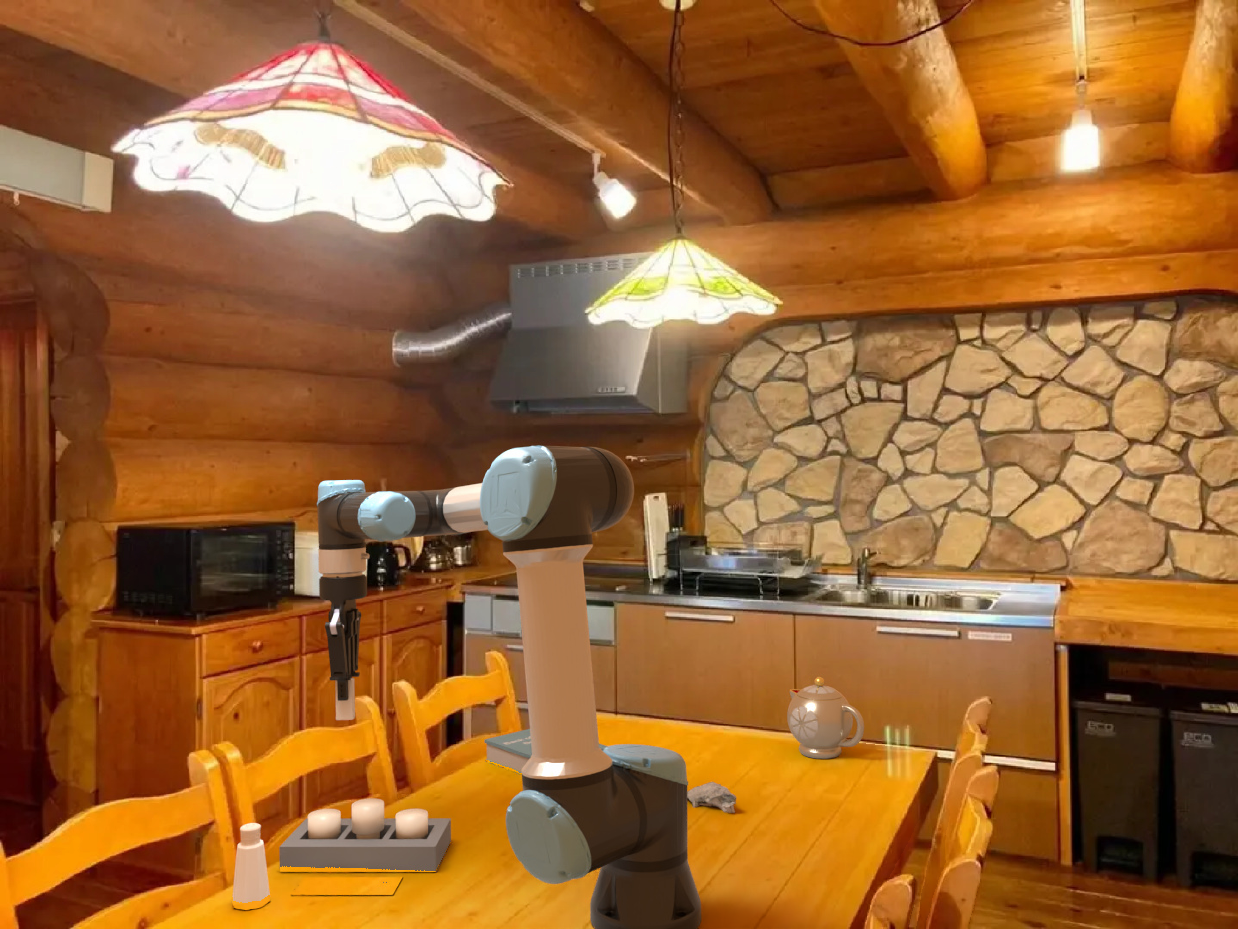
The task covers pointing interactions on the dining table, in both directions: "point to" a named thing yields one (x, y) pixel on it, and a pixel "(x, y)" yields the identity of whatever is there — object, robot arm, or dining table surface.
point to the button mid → (368, 818)
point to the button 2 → (412, 824)
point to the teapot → (822, 720)
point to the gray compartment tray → (368, 848)
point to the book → (512, 749)
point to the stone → (712, 797)
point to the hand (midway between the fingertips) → (345, 718)
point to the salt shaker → (250, 866)
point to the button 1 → (324, 824)
